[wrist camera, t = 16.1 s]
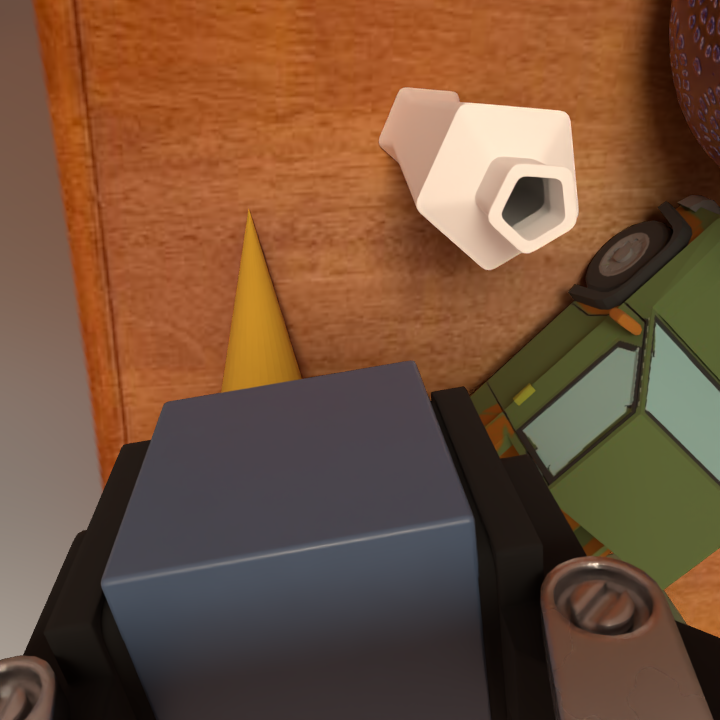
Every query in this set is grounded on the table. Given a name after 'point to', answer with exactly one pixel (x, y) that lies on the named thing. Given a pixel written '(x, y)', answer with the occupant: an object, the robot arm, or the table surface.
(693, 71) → the planter
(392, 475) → the block
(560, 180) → the perfume bottle
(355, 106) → the table surface
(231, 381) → the ice cream cone
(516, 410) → the toy truck
